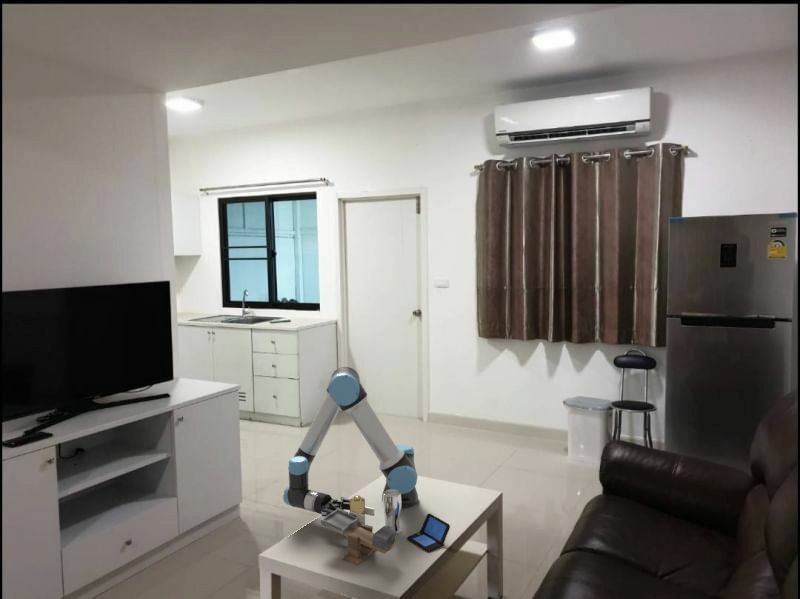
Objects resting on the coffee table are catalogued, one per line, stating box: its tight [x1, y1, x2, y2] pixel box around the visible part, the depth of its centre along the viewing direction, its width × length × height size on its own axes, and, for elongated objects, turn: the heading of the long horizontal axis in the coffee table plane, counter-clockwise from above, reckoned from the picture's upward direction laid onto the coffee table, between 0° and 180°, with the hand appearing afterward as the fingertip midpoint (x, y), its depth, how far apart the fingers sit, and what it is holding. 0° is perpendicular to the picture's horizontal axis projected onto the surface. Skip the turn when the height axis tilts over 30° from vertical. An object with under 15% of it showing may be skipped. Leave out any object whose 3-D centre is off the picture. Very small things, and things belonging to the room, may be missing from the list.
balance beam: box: [320, 509, 397, 555], centre depth 209 cm, size 10×26×6 cm, turn 60°
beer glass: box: [382, 489, 402, 535], centre depth 225 cm, size 7×7×15 cm
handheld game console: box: [406, 513, 451, 553], centre depth 218 cm, size 12×11×7 cm
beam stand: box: [343, 523, 376, 565], centre depth 209 cm, size 12×6×8 cm, turn 150°
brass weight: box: [349, 495, 366, 527], centre depth 223 cm, size 6×6×12 cm
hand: (369, 515), depth 221 cm, fingers closed on brass weight, 6 cm apart
